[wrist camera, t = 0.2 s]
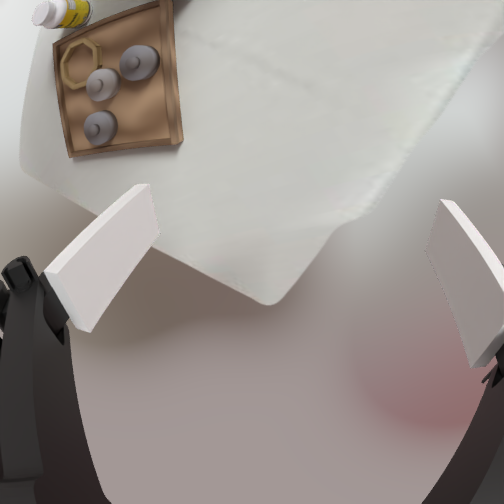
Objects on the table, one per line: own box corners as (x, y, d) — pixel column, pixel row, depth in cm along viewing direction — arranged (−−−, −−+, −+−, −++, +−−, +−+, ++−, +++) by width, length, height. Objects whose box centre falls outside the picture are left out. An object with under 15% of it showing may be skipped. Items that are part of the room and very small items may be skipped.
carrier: (62, 42, 30) (42, 45, 26) (172, 1, 26) (156, -6, 22) (77, 153, 42) (59, 163, 38) (183, 139, 39) (169, 149, 35)
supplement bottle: (74, 33, 29) (32, 36, 21) (68, 12, 26) (27, 12, 18) (96, 16, 27) (53, 14, 19) (90, -6, 24) (48, -10, 16)
